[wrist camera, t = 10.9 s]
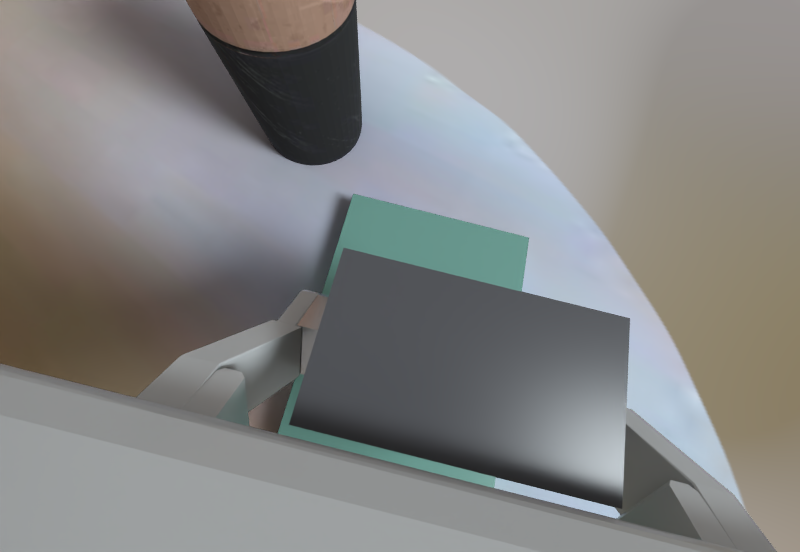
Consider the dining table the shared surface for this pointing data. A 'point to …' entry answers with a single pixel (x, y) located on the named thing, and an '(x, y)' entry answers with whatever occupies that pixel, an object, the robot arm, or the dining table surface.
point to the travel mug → (292, 70)
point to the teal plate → (430, 248)
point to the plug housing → (470, 377)
